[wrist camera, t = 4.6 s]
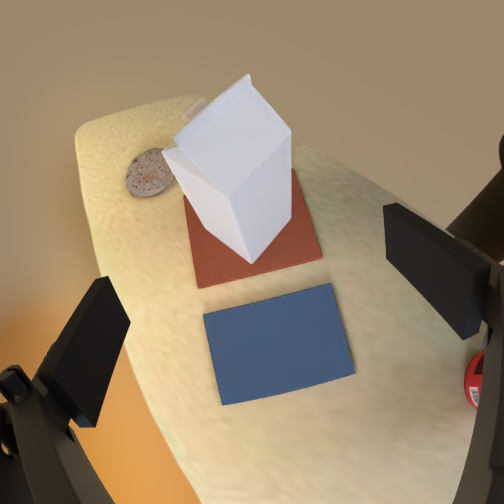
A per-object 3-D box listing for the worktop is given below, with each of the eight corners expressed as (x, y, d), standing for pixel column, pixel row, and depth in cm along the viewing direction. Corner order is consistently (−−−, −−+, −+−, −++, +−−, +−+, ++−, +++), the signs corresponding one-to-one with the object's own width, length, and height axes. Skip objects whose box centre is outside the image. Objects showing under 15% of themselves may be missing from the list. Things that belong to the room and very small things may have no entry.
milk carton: (291, 218, 36) (291, 91, 18) (252, 265, 35) (214, 162, 17) (244, 186, 38) (212, 59, 20) (205, 229, 37) (140, 117, 19)
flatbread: (141, 148, 43) (139, 144, 42) (187, 153, 41) (185, 149, 40) (118, 196, 40) (114, 192, 39) (164, 204, 39) (161, 201, 38)
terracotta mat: (292, 169, 39) (292, 167, 38) (322, 258, 35) (322, 256, 34) (184, 197, 39) (183, 195, 39) (198, 288, 35) (197, 288, 35)
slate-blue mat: (330, 283, 34) (330, 282, 33) (354, 373, 30) (355, 373, 30) (203, 314, 34) (202, 314, 34) (222, 405, 30) (222, 405, 30)
